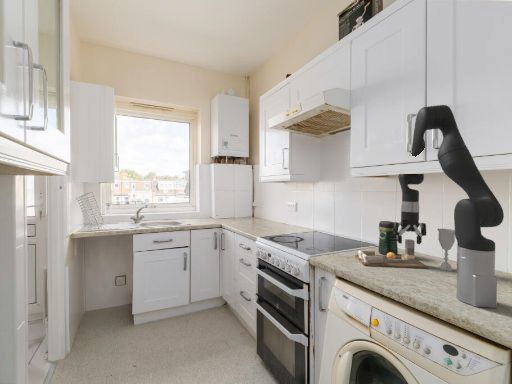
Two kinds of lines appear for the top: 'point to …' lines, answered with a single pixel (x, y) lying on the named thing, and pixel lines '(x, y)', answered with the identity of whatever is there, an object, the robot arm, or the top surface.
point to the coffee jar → (387, 238)
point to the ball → (391, 255)
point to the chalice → (446, 245)
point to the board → (387, 261)
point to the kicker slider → (409, 250)
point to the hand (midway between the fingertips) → (409, 243)
